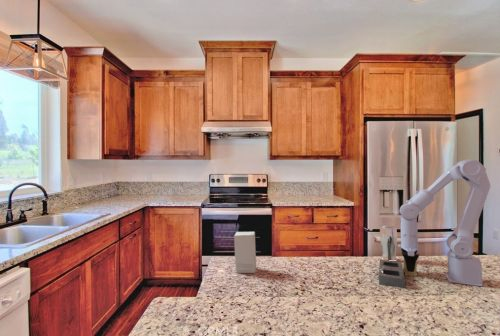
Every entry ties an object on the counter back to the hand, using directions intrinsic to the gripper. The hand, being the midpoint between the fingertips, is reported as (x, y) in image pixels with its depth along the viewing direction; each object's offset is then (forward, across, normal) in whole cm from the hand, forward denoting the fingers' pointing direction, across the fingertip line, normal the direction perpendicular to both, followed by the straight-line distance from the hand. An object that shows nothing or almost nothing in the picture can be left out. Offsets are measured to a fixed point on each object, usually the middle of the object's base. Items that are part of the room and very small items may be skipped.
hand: (410, 269), depth 105 cm
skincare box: (+2, +24, -60) cm, 65 cm away
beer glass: (+2, -15, -7) cm, 17 cm away
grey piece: (+2, +6, -7) cm, 9 cm away
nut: (+2, 0, 0) cm, 2 cm away
